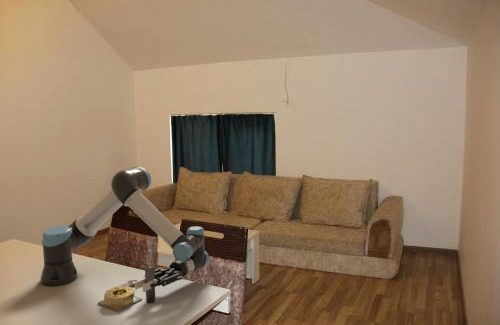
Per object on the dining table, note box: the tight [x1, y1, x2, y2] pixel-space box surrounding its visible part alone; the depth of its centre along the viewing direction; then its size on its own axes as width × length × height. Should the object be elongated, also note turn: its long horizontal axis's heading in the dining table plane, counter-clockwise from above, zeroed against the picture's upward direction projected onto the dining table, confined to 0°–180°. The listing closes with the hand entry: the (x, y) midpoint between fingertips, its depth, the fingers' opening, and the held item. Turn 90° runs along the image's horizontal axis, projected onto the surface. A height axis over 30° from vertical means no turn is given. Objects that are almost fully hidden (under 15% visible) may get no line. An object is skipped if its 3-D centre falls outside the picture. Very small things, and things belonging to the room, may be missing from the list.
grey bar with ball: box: [117, 279, 138, 288], centre depth 173 cm, size 14×4×1 cm, turn 147°
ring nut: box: [97, 285, 143, 313], centre depth 160 cm, size 12×12×4 cm
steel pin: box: [144, 265, 156, 305], centre depth 160 cm, size 4×4×14 cm
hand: (139, 287), depth 155 cm, fingers closed on steel pin, 4 cm apart
